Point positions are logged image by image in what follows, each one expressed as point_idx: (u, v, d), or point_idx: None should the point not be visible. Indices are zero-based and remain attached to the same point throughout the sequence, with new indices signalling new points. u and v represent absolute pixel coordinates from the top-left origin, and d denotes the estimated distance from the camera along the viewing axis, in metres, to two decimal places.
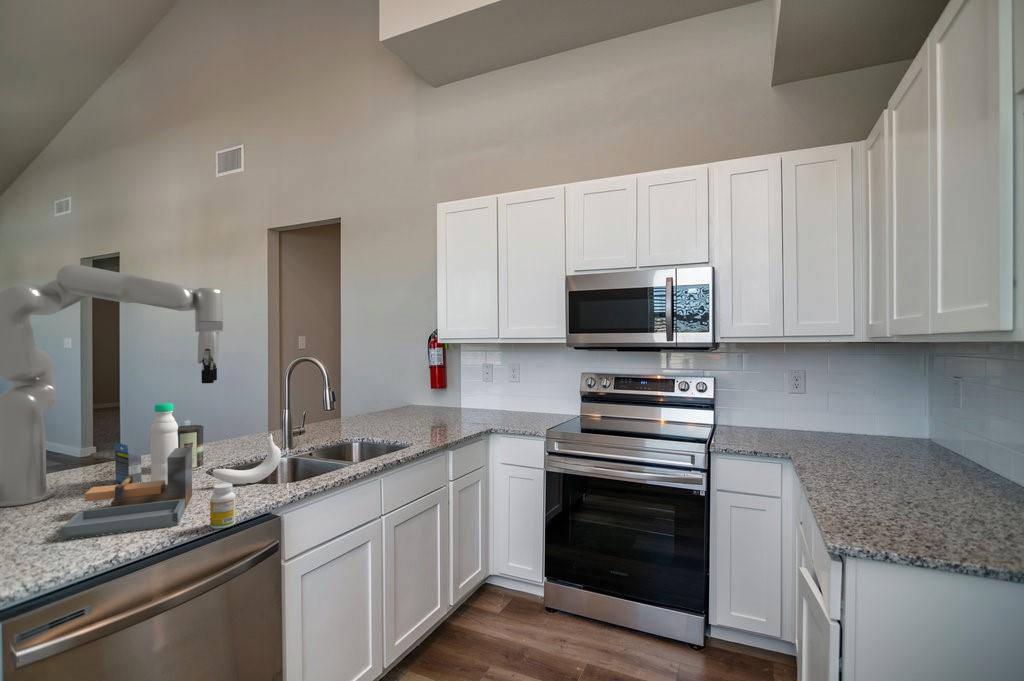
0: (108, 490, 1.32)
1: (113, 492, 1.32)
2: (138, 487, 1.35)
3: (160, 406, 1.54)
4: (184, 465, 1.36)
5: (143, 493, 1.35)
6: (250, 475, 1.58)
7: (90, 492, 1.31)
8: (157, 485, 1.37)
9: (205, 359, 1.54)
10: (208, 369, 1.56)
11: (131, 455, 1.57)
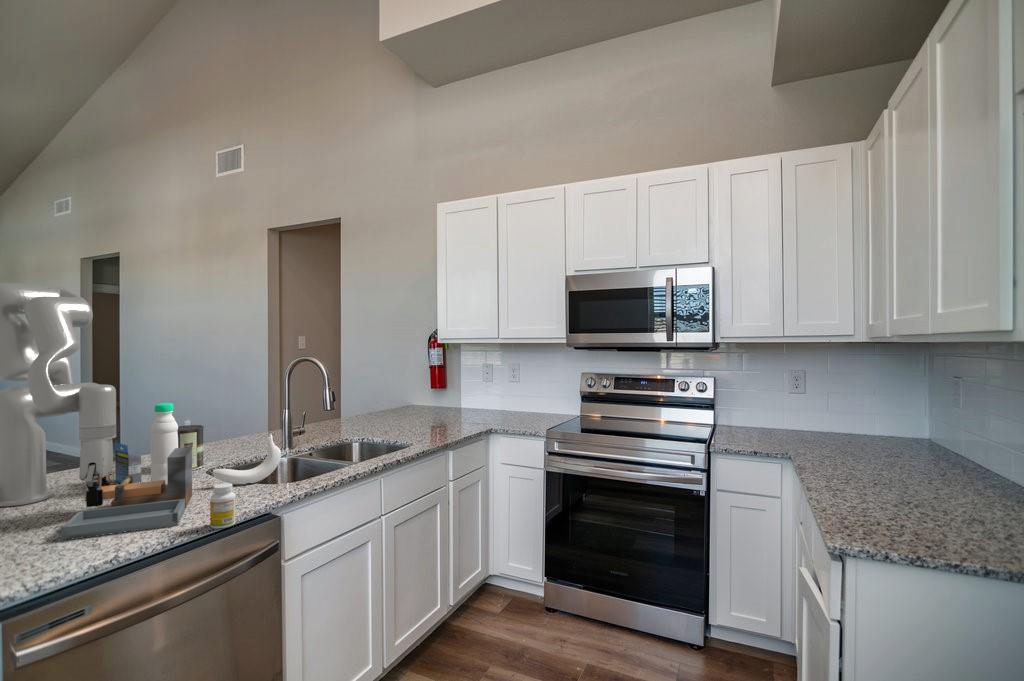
0: (108, 490, 1.32)
1: (113, 492, 1.32)
2: (138, 487, 1.35)
3: (160, 406, 1.54)
4: (184, 465, 1.36)
5: (143, 493, 1.35)
6: (250, 475, 1.58)
7: None
8: (157, 485, 1.37)
9: (88, 483, 1.26)
10: (94, 490, 1.29)
11: (131, 455, 1.57)
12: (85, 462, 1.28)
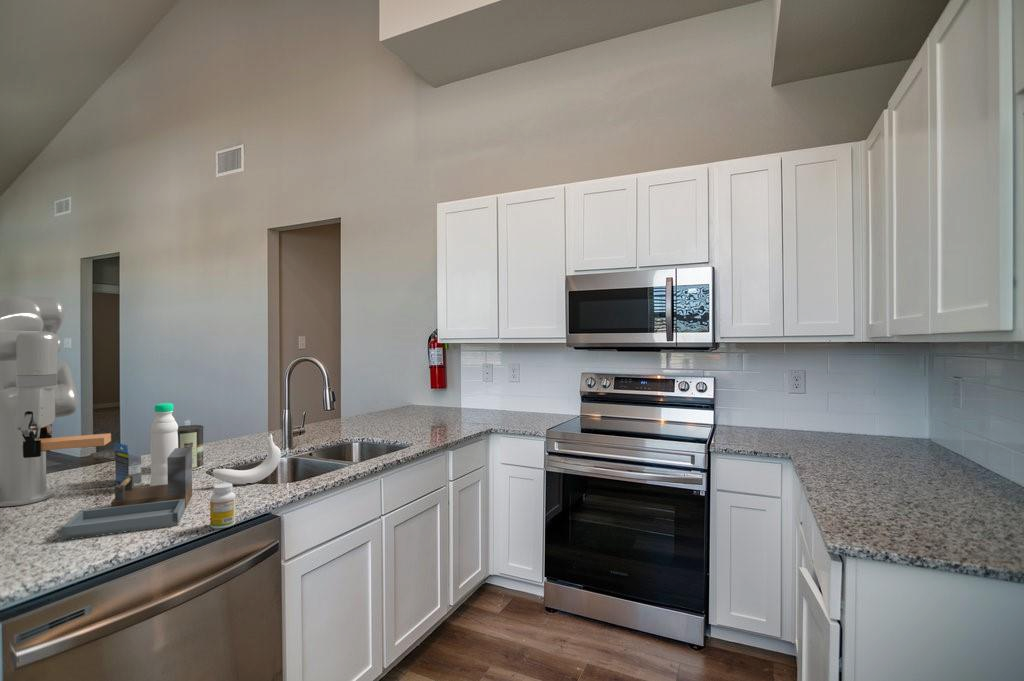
0: (47, 441, 1.27)
1: (52, 443, 1.27)
2: (80, 439, 1.30)
3: (160, 406, 1.54)
4: (184, 465, 1.36)
5: (85, 445, 1.30)
6: (250, 475, 1.58)
7: None
8: (100, 437, 1.32)
9: (23, 431, 1.21)
10: (31, 440, 1.24)
11: (131, 455, 1.57)
12: (21, 411, 1.23)
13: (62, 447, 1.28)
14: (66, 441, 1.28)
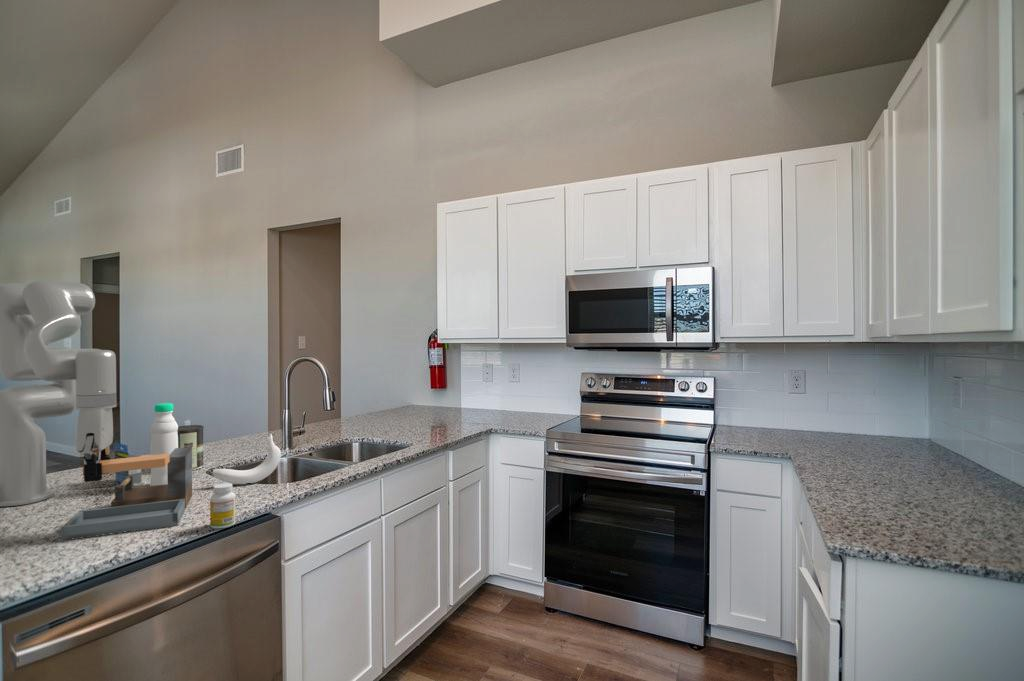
0: (108, 463, 1.22)
1: (113, 465, 1.21)
2: (140, 460, 1.24)
3: (160, 406, 1.54)
4: (184, 465, 1.36)
5: (146, 466, 1.24)
6: (250, 475, 1.58)
7: None
8: (161, 458, 1.26)
9: (86, 454, 1.16)
10: (93, 463, 1.18)
11: (131, 455, 1.57)
12: (82, 432, 1.17)
13: (123, 469, 1.22)
14: (127, 463, 1.22)
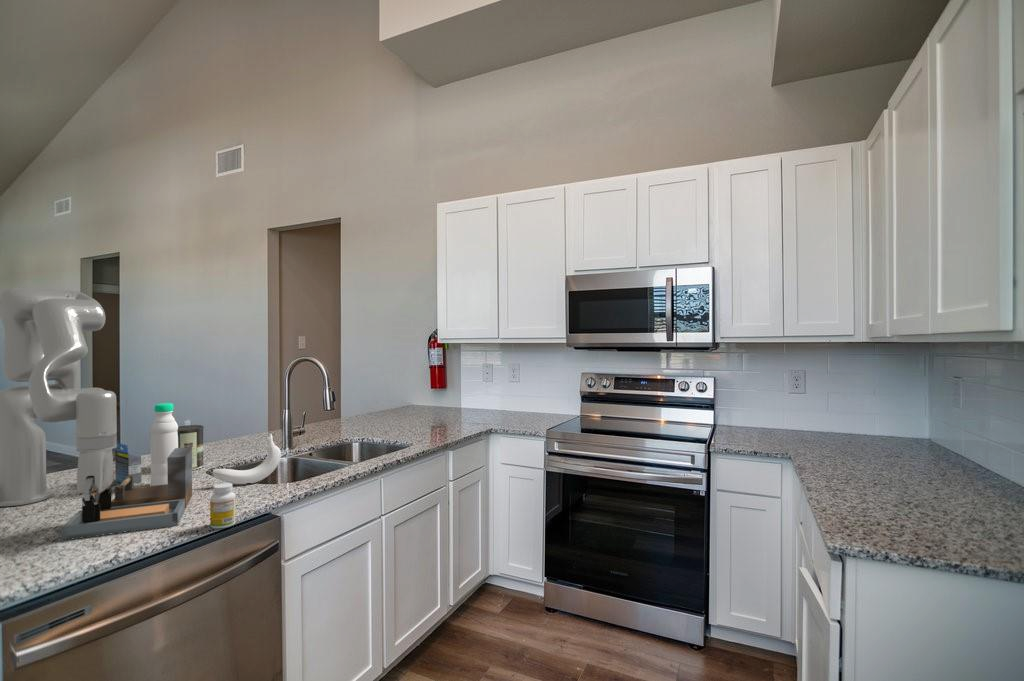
0: (107, 516, 1.22)
1: (113, 519, 1.22)
2: (140, 512, 1.25)
3: (160, 406, 1.54)
4: (184, 465, 1.36)
5: None
6: (250, 475, 1.58)
7: None
8: (160, 510, 1.26)
9: (84, 494, 1.15)
10: (91, 504, 1.17)
11: (131, 455, 1.57)
12: (83, 475, 1.17)
13: None
14: (126, 516, 1.23)
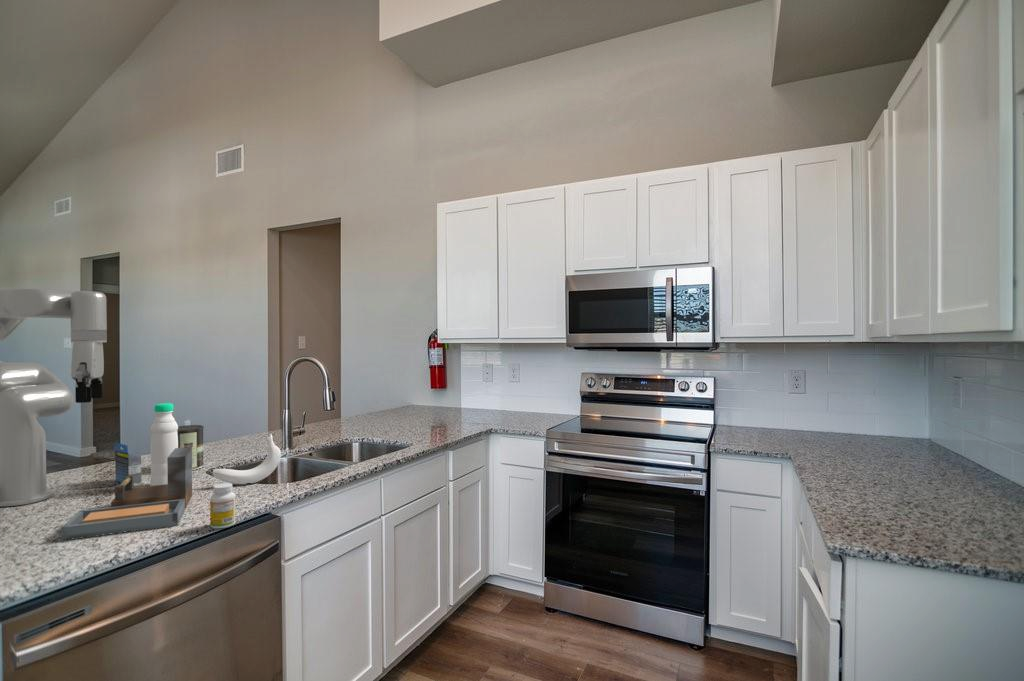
0: (107, 516, 1.22)
1: (113, 519, 1.22)
2: (140, 512, 1.25)
3: (160, 406, 1.54)
4: (184, 465, 1.36)
5: None
6: (250, 475, 1.58)
7: (88, 519, 1.20)
8: (160, 510, 1.26)
9: (77, 375, 1.31)
10: (83, 386, 1.34)
11: (131, 455, 1.57)
12: (76, 361, 1.34)
13: None
14: (126, 516, 1.23)
